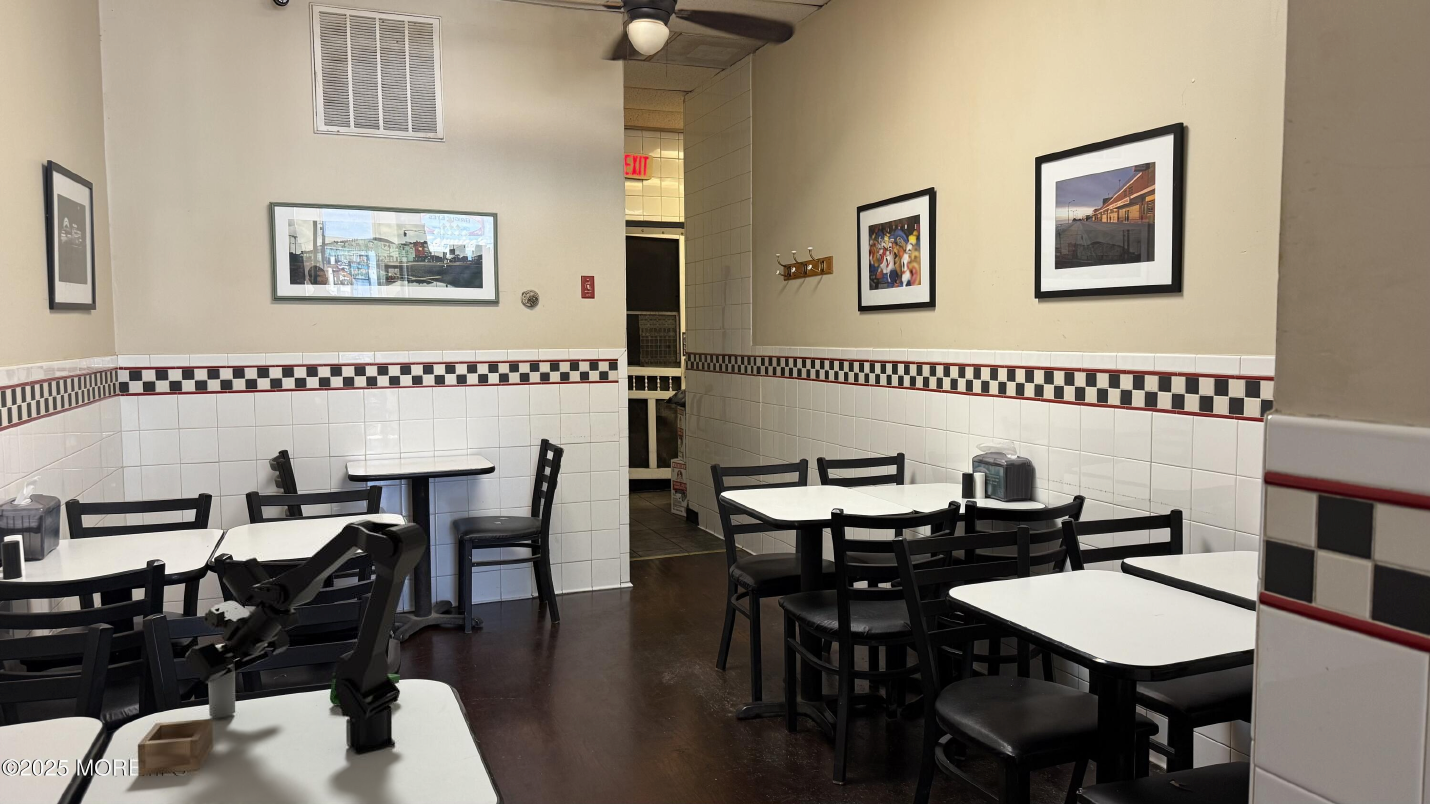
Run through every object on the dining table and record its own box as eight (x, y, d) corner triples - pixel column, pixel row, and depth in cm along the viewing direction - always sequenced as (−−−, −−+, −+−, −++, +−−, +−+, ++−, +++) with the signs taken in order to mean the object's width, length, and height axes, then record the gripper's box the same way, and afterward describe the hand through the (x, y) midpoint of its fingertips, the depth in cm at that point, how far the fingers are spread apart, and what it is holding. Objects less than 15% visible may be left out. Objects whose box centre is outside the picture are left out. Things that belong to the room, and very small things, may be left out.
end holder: (212, 747, 156) (212, 718, 155) (197, 769, 148) (197, 739, 147) (156, 752, 154) (156, 722, 153) (138, 775, 145) (137, 744, 145)
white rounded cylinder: (233, 706, 171) (232, 640, 171) (237, 714, 168) (236, 647, 167) (207, 711, 169) (206, 645, 168) (211, 719, 166) (209, 651, 165)
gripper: (276, 577, 175) (232, 628, 179) (192, 603, 157) (145, 658, 161) (310, 622, 173) (265, 673, 177) (228, 653, 155) (180, 708, 159)
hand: (215, 676), depth 169 cm, fingers closed on white rounded cylinder, 4 cm apart
